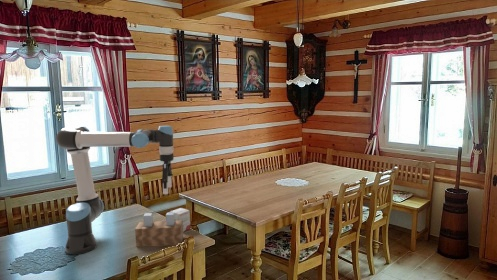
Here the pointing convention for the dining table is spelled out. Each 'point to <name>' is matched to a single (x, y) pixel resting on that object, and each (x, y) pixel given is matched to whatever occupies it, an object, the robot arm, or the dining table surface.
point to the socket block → (159, 234)
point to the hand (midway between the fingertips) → (167, 190)
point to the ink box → (182, 217)
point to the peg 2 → (170, 219)
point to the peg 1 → (148, 220)
